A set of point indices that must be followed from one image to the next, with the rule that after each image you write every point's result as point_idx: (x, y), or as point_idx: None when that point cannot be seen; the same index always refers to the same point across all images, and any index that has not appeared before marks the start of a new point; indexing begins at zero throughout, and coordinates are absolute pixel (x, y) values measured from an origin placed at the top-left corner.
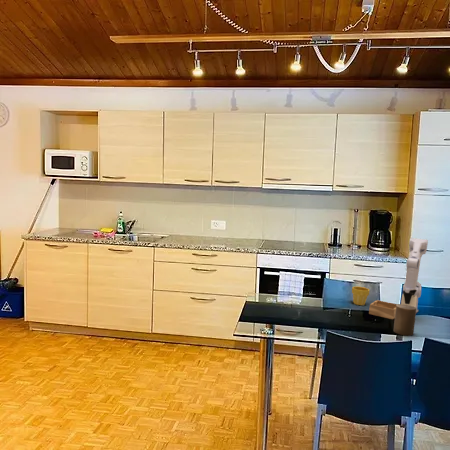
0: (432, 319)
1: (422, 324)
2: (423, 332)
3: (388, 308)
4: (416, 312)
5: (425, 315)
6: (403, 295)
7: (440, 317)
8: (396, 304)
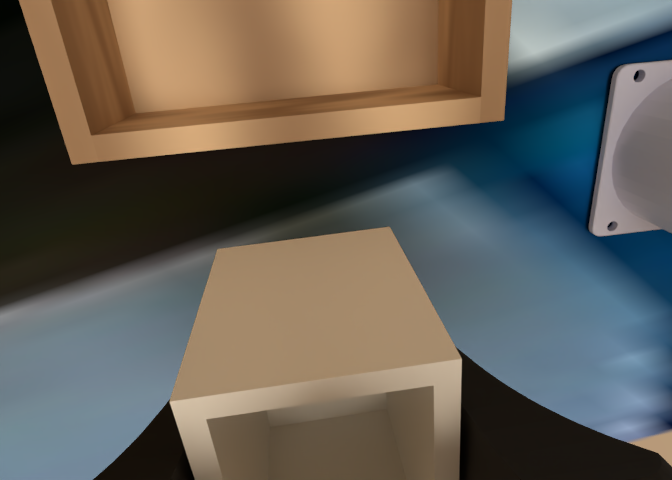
0: (519, 392)
1: None
2: (20, 477)
3: (44, 53)
4: (655, 228)
5: (618, 312)
6: (182, 425)
7: (641, 409)
8: (486, 56)
